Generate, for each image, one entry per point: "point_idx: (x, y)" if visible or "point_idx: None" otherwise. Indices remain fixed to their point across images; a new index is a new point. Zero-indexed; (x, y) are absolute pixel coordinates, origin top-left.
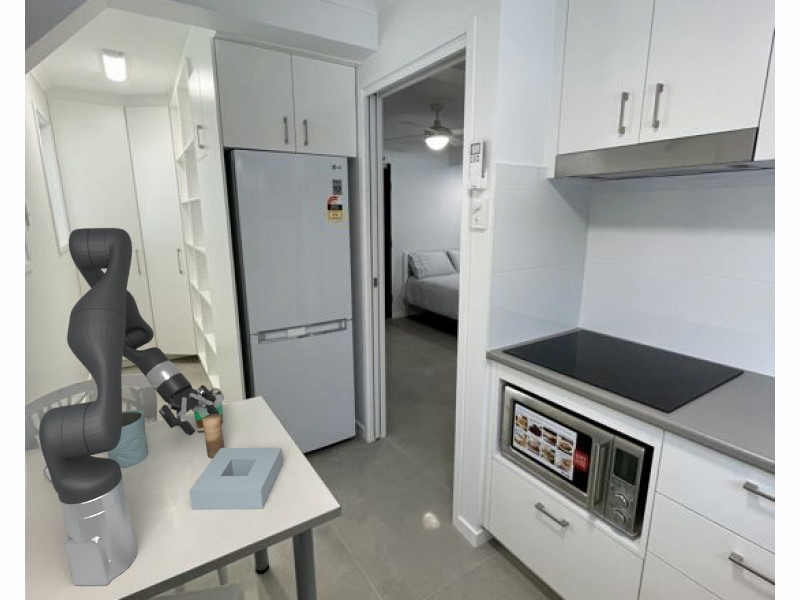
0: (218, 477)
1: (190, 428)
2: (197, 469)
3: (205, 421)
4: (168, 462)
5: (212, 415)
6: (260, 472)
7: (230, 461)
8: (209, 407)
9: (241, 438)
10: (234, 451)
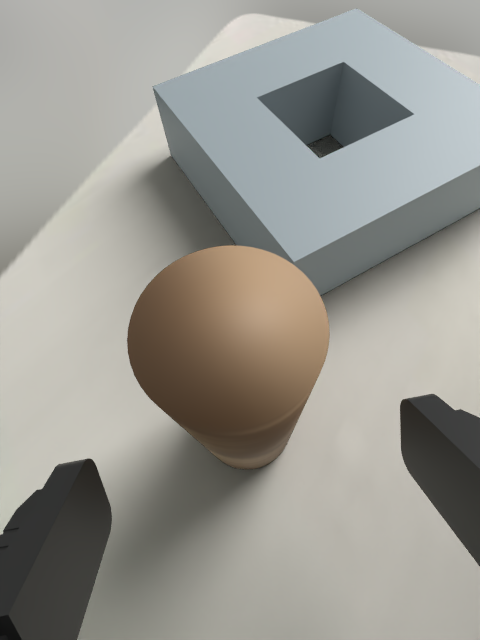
0: (423, 112)
1: (461, 420)
2: (380, 384)
3: (318, 310)
4: (477, 624)
5: (184, 362)
6: (303, 48)
7: (328, 158)
8: (18, 631)
9: (82, 423)
10: (273, 188)
